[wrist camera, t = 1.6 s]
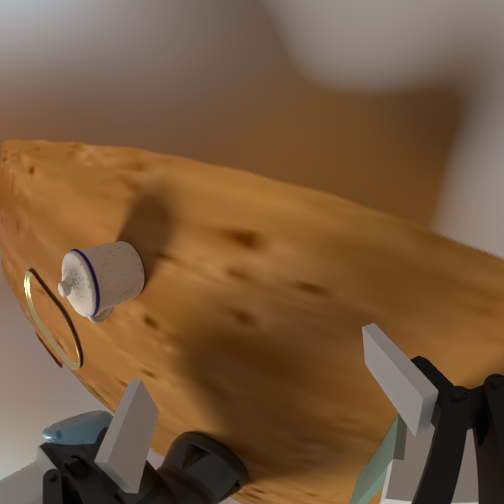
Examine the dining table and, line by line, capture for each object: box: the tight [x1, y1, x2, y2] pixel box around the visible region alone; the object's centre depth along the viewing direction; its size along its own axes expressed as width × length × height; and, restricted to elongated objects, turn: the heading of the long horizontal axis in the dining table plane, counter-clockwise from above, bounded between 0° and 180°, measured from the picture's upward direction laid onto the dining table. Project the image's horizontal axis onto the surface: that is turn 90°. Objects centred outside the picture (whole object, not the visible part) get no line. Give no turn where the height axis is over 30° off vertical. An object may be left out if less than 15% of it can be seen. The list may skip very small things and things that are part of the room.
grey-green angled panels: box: [349, 414, 478, 504], centre depth 16 cm, size 15×24×12 cm, turn 84°
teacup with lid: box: [58, 241, 145, 324], centre depth 35 cm, size 12×9×12 cm
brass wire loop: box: [25, 271, 81, 370], centre depth 61 cm, size 19×35×2 cm, turn 71°
